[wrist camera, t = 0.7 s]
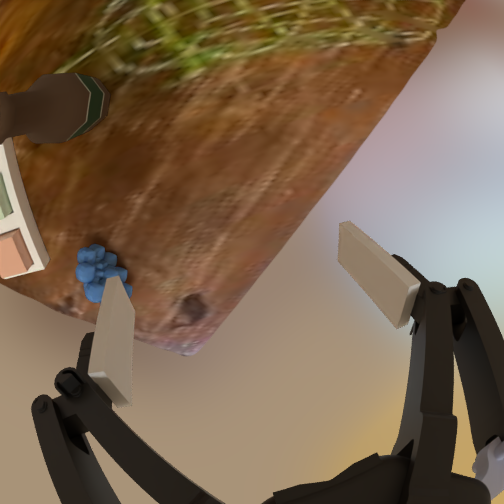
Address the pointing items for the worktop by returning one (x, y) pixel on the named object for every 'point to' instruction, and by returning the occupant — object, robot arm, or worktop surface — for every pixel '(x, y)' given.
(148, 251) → the worktop surface
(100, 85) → the beer bottle
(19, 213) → the console
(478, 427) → the robot arm
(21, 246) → the terracotta button
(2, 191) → the sage button
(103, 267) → the grapes
